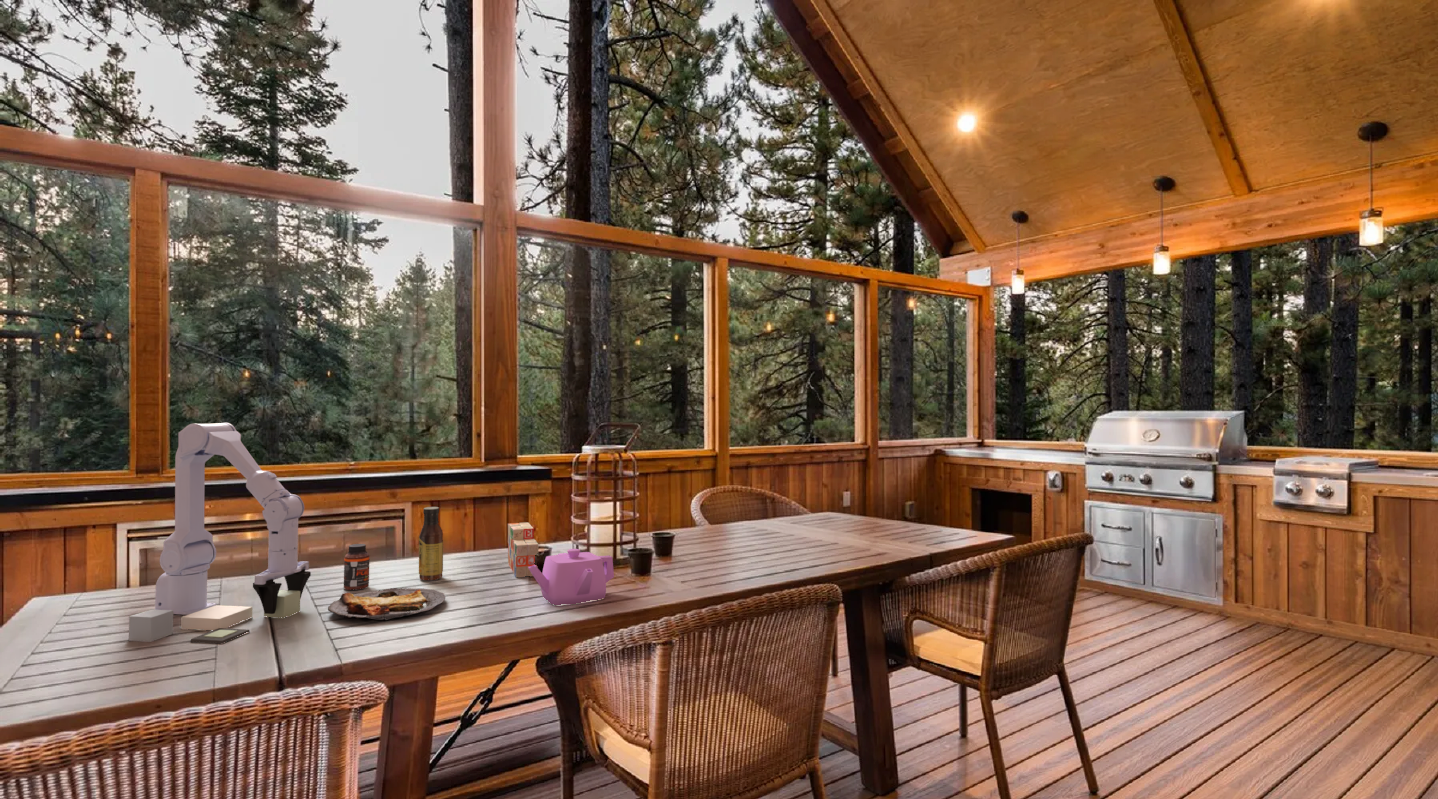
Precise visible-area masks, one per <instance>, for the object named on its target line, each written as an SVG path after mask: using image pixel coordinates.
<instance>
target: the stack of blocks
mask: <svg viewBox="0 0 1438 799" xmlns="http://www.w3.org/2000/svg"><path fill="white" fill-rule="evenodd" d="M507 544H508V545H507V547H508V548H507V563H508V566H509V569H511V571H512V573H513V576H514V577H515V578H517V577H518V578H525V576H530V577H534V576H533V575H532V573H531V572H530V570H529V568H528V567H530V566H533V565H535V564H534V563H535V555H536V554H537V553H538V554H539V543H538V542H537V540H536V539H535V528H534V527H533V526H532V525H531V524H530V522H519V523H518V522H513V523H512V522H511V523H507ZM536 566H537V565H536ZM537 568H538V566H537ZM538 569H539V568H538Z"/></svg>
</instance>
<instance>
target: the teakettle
mask: <svg viewBox="0 0 1438 799" xmlns="http://www.w3.org/2000/svg"><path fill="white" fill-rule="evenodd" d="M613 562H614V560H613V556H611V555H608V554H607V555H597V554H595V553H592V552H590V551H583V552H582V551H581V549H579V548H569V549H567V552H563V553H557V554H554V555H553V554H552V555H546V556H545V559H544V562H543V563H544V564H543V568H542V572H541V570H540V569H539V568H537V566H536V565H533V566H530V567H528V568H529V570H530V572H531V573H532V575H533V576H532V577H533V578H534V580H535V581H536V583H537V584H538V586H539V587H540V591H541V595H542V596H541V597H542V598H543V597H544V598H545V599H546V600H548V601H549V602H550V603H551V604H550V603H549V602H548V603H549V604H550V605H552V604H554V605H561V604H576V603H581V602H586V601H590V600H598V599H602V598H604V599H605V597H606V594H607V593H606V592H607V583H608V582H609V581H610V580H612V579H613V578H614V577H615V575H614V574H615V573H614V572H615V571H614V563H613ZM544 598H543V599H544ZM545 599H544V600H545Z"/></svg>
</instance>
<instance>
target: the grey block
mask: <svg viewBox="0 0 1438 799" xmlns="http://www.w3.org/2000/svg"><path fill="white" fill-rule="evenodd" d="M173 634H174V614H173V610H156V609H155V608H154V609H148V610H145V611H143V612H140V613H136V614H132V615H129V617H128V641H130V642H149V643H150V642H151V643H152V642H154V640H155V641H157V640H160V639H163V638H165V637H168V636H171V635H173Z"/></svg>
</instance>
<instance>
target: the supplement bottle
mask: <svg viewBox="0 0 1438 799" xmlns="http://www.w3.org/2000/svg"><path fill="white" fill-rule="evenodd" d="M366 549H367V545H366V544H365V543H354V544H349V545H348V552H347V553H346V554H345V556H344V559H343V560H344V561H343V562H344V563H343V589H344V590H346V591H359V590H361V591H362V590H365V589H367V588H368V587H369V584H370V561H371V560H370V556H371V555H370V553H369V552H368V551H367V550H366Z"/></svg>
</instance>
